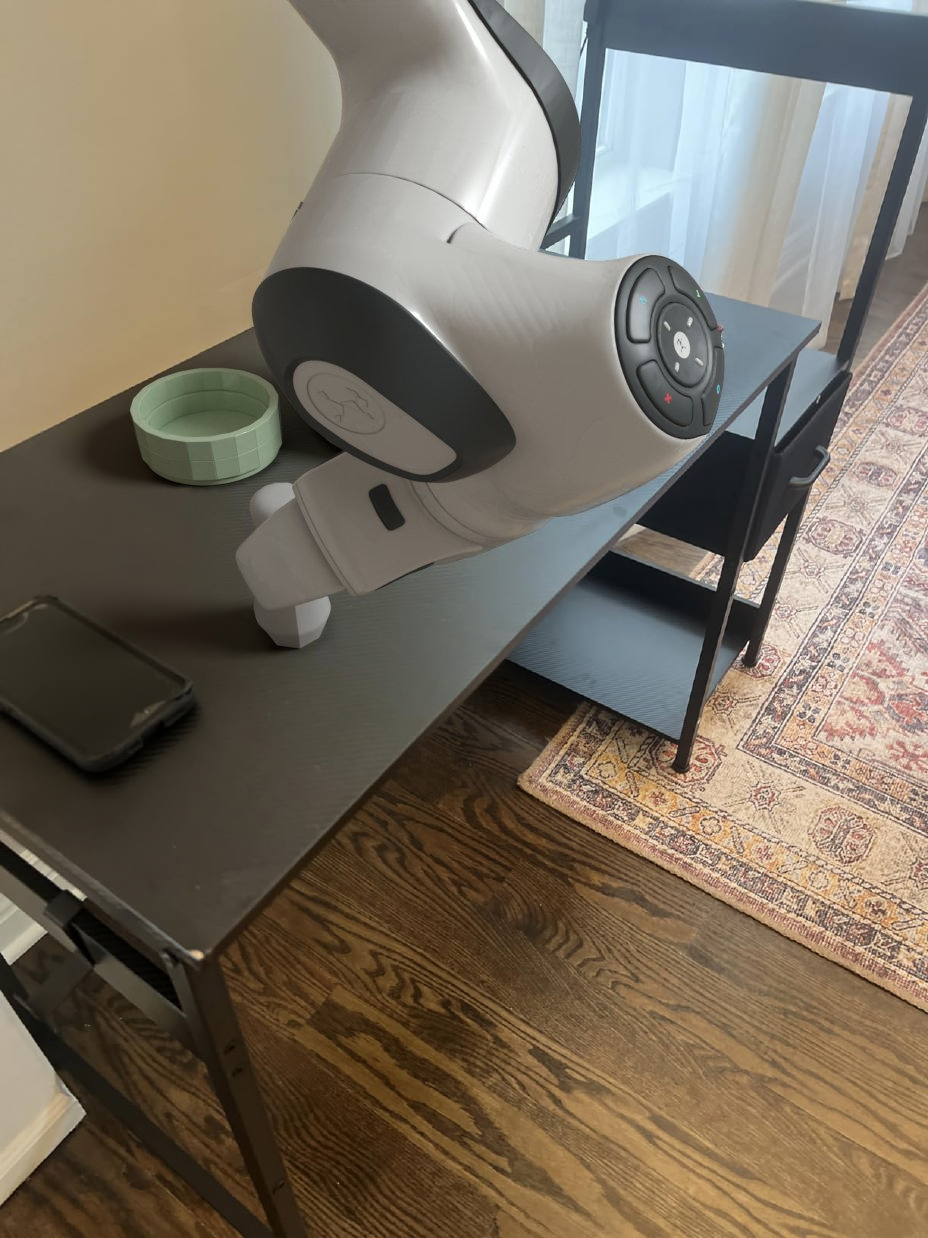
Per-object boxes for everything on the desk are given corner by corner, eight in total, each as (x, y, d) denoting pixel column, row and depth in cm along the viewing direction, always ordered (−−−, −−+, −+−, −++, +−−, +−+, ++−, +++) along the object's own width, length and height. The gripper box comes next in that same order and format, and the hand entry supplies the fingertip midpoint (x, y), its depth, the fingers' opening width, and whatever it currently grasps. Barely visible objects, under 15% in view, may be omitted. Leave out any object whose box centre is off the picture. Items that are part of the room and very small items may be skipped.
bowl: (155, 500, 85) (144, 453, 81) (130, 426, 94) (119, 381, 90) (300, 470, 89) (295, 424, 86) (262, 401, 98) (257, 358, 95)
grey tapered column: (243, 642, 72) (219, 505, 63) (281, 597, 76) (263, 462, 67) (310, 665, 70) (295, 527, 61) (345, 617, 74) (336, 482, 65)
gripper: (568, 351, 53) (446, 431, 65) (271, 488, 42) (189, 554, 54) (617, 451, 54) (488, 512, 65) (338, 610, 43) (243, 649, 55)
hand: (351, 532), depth 60 cm, fingers open, 8 cm apart
